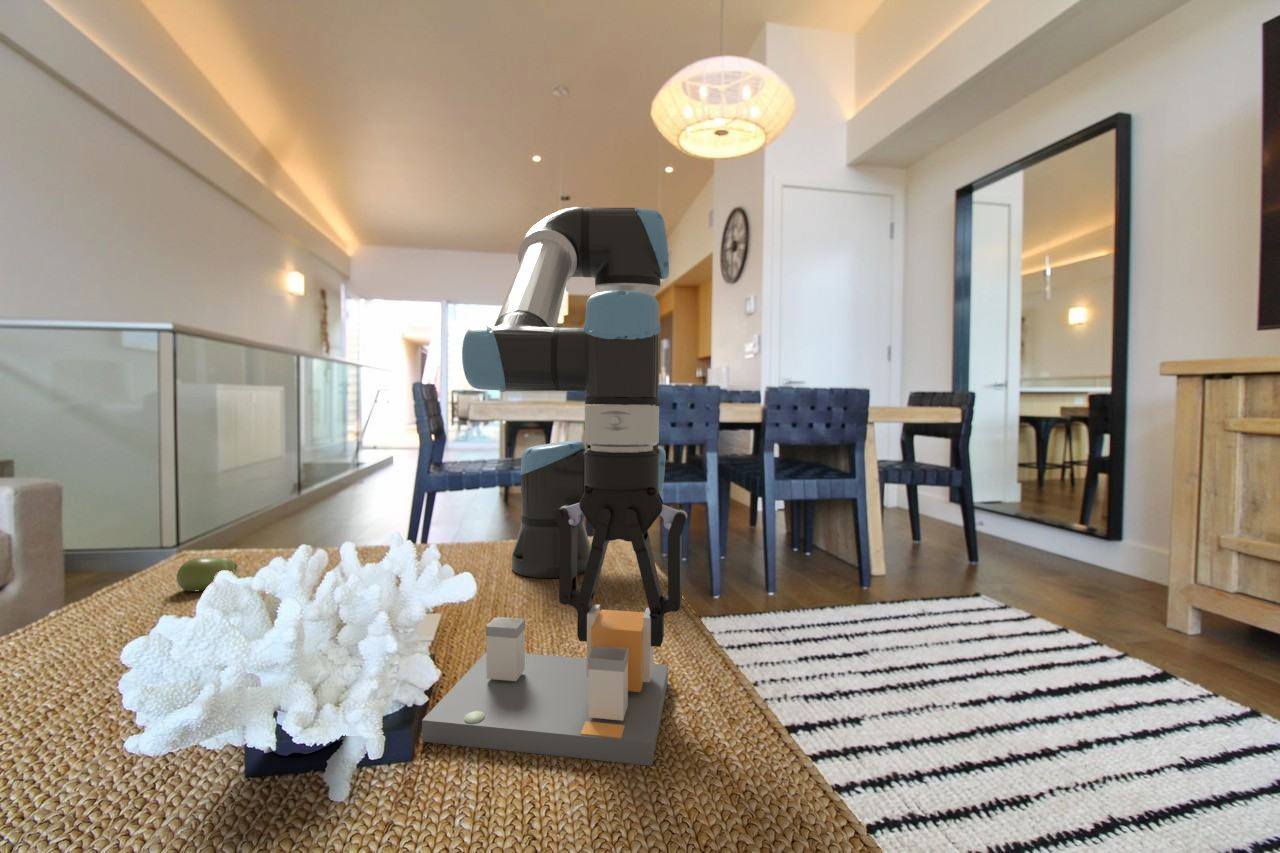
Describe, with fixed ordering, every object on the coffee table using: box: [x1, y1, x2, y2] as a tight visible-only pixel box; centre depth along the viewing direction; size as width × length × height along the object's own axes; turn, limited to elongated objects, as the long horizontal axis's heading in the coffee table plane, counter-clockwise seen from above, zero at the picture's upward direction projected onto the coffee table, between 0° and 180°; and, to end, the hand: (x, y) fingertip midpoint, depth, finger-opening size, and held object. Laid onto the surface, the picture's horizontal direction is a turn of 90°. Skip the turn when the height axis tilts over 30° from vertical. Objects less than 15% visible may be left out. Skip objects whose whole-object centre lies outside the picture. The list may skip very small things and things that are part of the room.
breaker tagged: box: [588, 646, 629, 721], centre depth 50 cm, size 2×3×6 cm
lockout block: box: [591, 609, 645, 692], centre depth 56 cm, size 5×5×6 cm
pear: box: [176, 556, 238, 592], centre depth 91 cm, size 6×5×10 cm
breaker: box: [485, 616, 526, 681], centre depth 57 cm, size 2×3×6 cm
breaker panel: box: [421, 652, 669, 767], centre depth 55 cm, size 14×21×2 cm, turn 82°
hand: (620, 672), depth 56 cm, fingers closed on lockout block, 5 cm apart
